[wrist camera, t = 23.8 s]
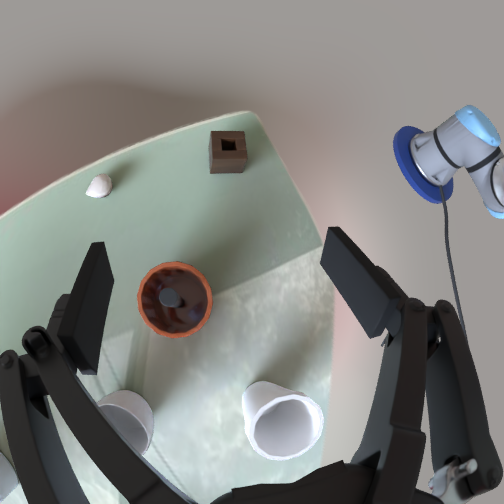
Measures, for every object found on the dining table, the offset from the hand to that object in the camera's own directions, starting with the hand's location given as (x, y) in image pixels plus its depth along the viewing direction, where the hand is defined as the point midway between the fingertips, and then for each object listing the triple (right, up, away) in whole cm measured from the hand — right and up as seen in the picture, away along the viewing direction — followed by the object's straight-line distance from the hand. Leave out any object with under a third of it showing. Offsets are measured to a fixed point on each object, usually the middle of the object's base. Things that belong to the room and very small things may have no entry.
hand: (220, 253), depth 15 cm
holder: (-3, +16, +31) cm, 35 cm away
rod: (-9, -7, +24) cm, 27 cm away
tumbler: (-9, -8, +25) cm, 27 cm away
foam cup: (+3, -23, +24) cm, 34 cm away
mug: (-18, -26, +19) cm, 37 cm away
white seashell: (-24, +10, +26) cm, 37 cm away
